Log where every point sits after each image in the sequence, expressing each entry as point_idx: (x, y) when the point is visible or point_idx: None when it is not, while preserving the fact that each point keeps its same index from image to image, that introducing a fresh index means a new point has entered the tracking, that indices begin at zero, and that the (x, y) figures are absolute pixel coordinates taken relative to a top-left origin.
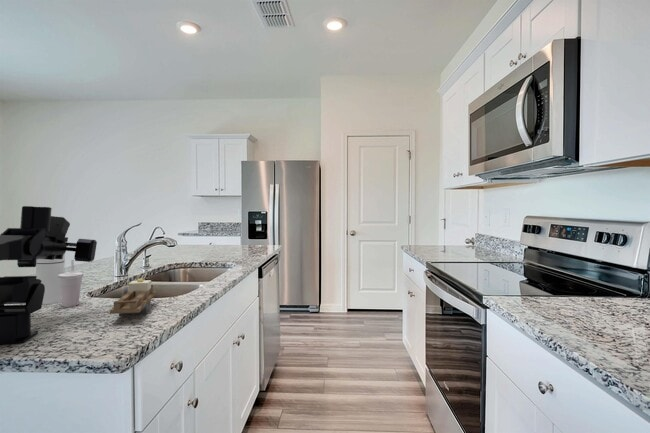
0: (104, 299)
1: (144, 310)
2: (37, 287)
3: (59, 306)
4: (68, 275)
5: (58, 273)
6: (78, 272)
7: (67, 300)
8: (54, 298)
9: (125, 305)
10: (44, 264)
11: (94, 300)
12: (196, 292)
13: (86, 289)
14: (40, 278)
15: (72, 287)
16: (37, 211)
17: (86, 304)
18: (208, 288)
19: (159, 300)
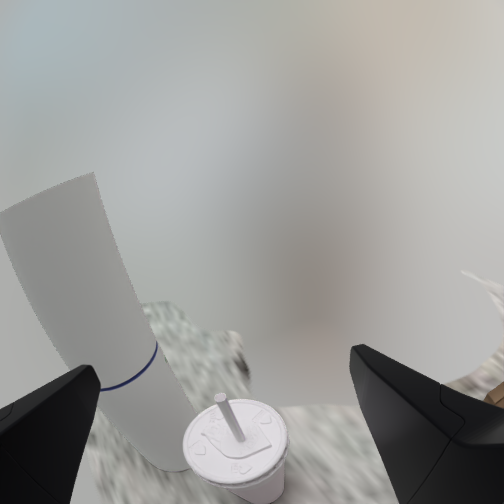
0: (331, 418)
1: None
2: None
3: (230, 497)
4: (235, 462)
5: (163, 401)
6: (245, 402)
7: (260, 501)
8: None
9: None
10: (102, 393)
11: (306, 432)
12: (500, 307)
13: (216, 342)
14: (119, 426)
15: (269, 484)
16: None
17: (310, 474)
18: (491, 282)
19: (492, 381)
